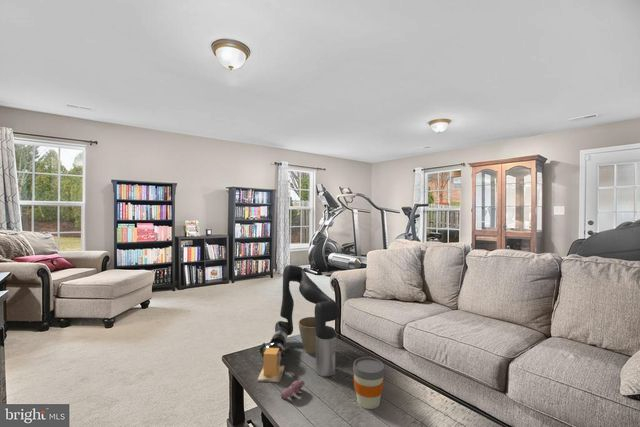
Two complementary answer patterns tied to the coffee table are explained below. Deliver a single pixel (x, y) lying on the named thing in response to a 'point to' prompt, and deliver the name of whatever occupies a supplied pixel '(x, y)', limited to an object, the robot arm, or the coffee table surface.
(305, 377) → the coffee table surface
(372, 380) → the reusable coffee cup
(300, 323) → the plant pot
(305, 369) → the coffee table surface
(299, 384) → the video game controller
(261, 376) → the flat beige base block
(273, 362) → the tall orange pillar
